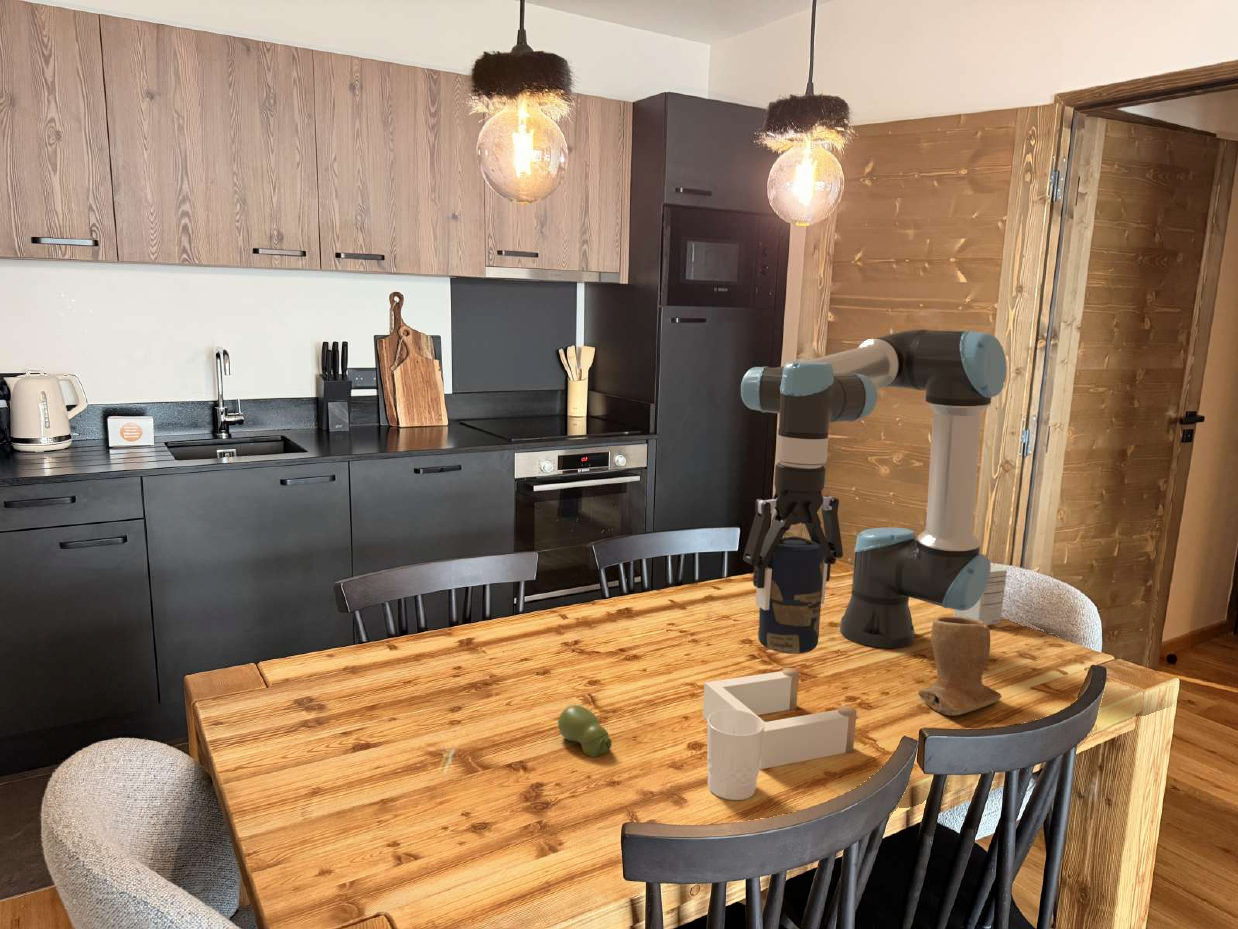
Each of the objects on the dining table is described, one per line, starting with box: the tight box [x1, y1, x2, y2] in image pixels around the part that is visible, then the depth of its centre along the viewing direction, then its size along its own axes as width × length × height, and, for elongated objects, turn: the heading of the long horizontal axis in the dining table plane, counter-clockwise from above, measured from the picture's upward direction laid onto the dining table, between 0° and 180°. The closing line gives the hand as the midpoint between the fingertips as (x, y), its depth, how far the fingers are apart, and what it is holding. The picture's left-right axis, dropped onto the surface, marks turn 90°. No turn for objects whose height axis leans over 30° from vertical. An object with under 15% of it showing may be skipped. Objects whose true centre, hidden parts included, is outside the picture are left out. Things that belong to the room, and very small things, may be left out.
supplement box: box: [953, 564, 1008, 626], centre depth 196 cm, size 7×7×13 cm
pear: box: [557, 704, 613, 758], centre depth 133 cm, size 6×5×10 cm
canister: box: [757, 535, 825, 655], centre depth 136 cm, size 10×10×18 cm
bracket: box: [702, 667, 857, 770], centre depth 139 cm, size 17×18×6 cm
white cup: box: [706, 710, 765, 801], centre depth 122 cm, size 8×8×10 cm
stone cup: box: [917, 616, 1002, 717], centre depth 152 cm, size 15×12×15 cm
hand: (790, 604), depth 136 cm, fingers closed on canister, 9 cm apart
